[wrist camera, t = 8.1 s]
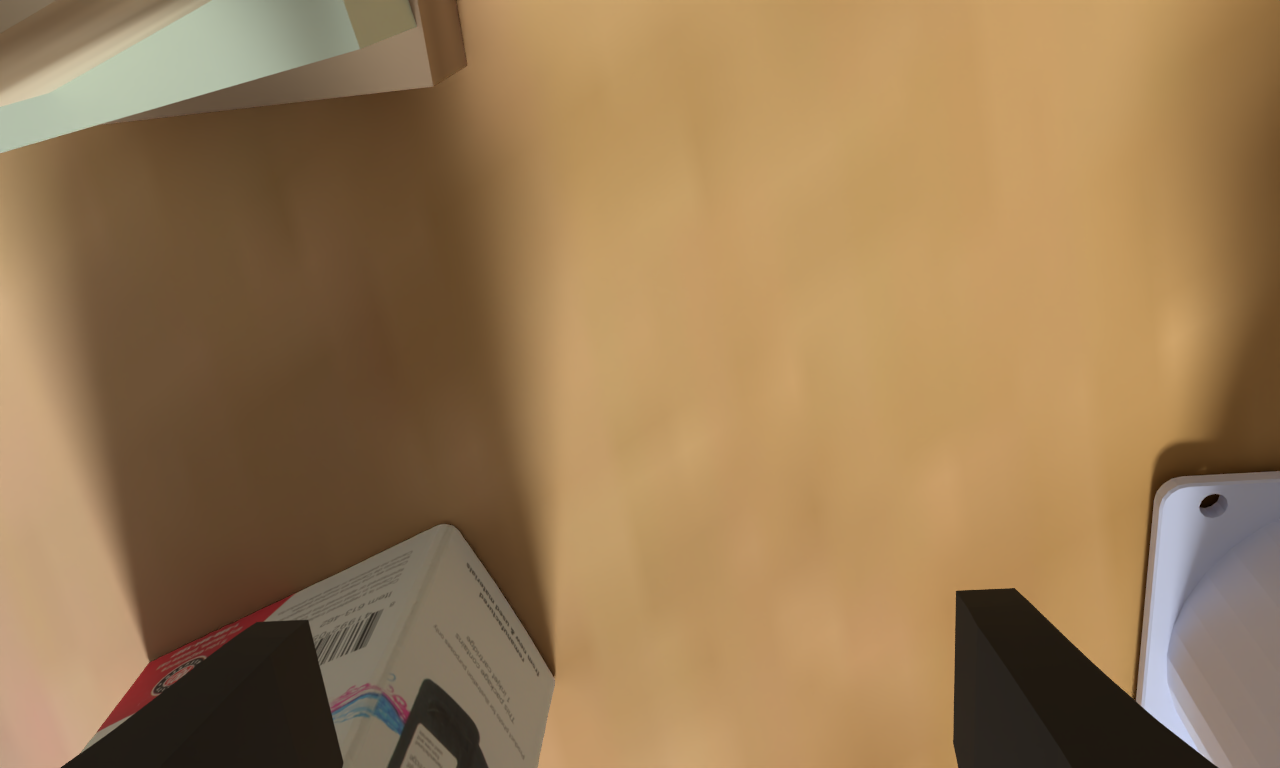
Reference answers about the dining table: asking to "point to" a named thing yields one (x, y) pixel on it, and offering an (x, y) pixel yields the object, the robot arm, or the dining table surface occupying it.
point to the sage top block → (204, 60)
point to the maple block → (72, 38)
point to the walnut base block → (348, 69)
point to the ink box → (404, 661)
